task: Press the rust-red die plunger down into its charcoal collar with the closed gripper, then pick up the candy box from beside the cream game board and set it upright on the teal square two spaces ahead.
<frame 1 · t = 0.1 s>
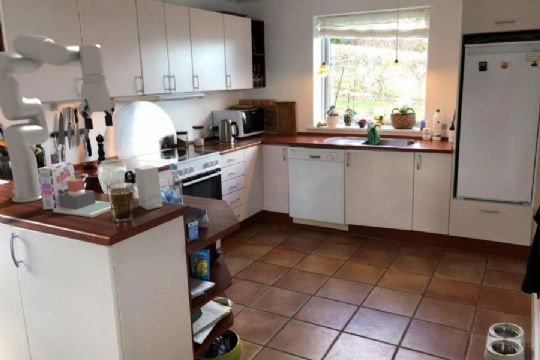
hand: (99, 127, 168), 31 cm above the counter, tool pointing down, fingers open, 9 cm apart
game board: (88, 209, 176), on the counter
skincare box: (150, 207, 177), on the counter
candy box: (61, 205, 183), on the counter
die plunger: (76, 190, 177), point 7 cm above the counter, slide at 0.0 cm
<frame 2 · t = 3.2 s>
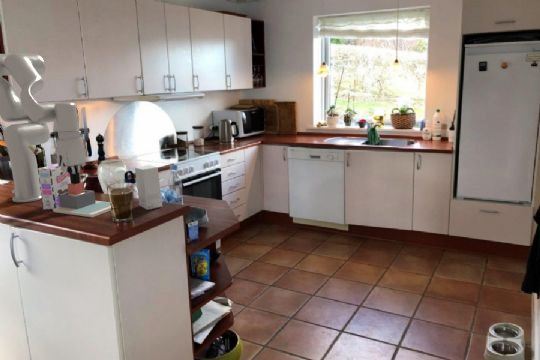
hand: (75, 183, 176), 10 cm above the counter, tool pointing down, fingers closed
die plunger: (76, 193, 177), point 6 cm above the counter, slide at -1.2 cm, touching gripper
everything else where it was.
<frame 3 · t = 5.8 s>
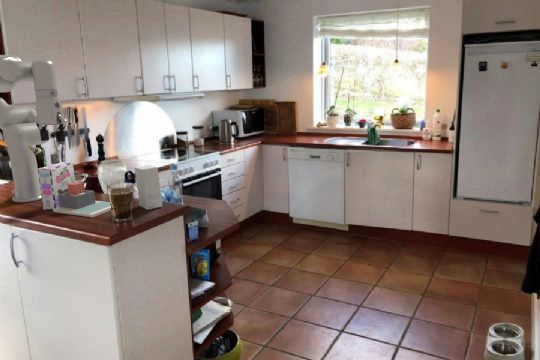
hand: (53, 140, 176), 26 cm above the counter, tool pointing down, fingers open, 8 cm apart
die plunger: (76, 193, 177), point 6 cm above the counter, slide at -1.3 cm
everything else where it was.
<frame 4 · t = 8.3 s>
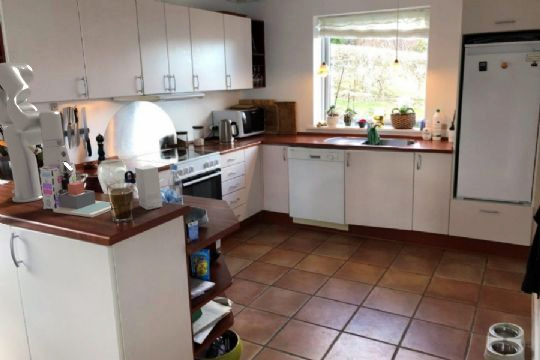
hand: (59, 188, 181), 7 cm above the counter, tool pointing down, fingers closed on candy box, 6 cm apart
candy box: (61, 205, 183), on the counter, touching gripper
everything else where it was.
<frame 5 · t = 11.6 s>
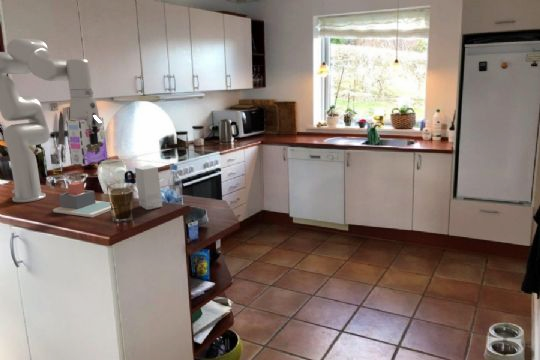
hand: (87, 143, 169), 25 cm above the counter, tool pointing down, fingers closed on candy box, 6 cm apart
candy box: (90, 163, 171), point 18 cm above the counter, touching gripper
everything else where it was.
when the fingers open (9 cm above the counter, at t = 15.2 s): candy box stays where it is, resting on game board.
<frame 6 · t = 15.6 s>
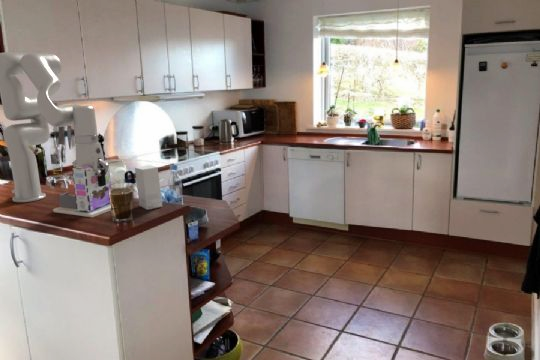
hand: (92, 185, 172), 10 cm above the counter, tool pointing down, fingers open, 9 cm apart
candy box: (95, 207, 175), point 1 cm above the counter, touching game board
everything else where it was.
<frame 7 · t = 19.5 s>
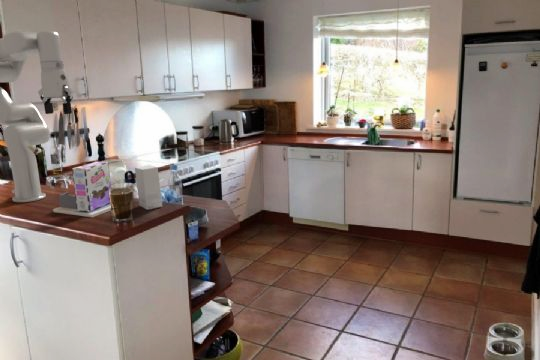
hand: (58, 113, 172), 36 cm above the counter, tool pointing down, fingers open, 9 cm apart
nothing on the counter moved.
at the end: die plunger slide at -1.3 cm; candy box 0.3 cm from the target spot on the game board, point 0.9 cm above the game board's base; candy box tilted 0° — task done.
